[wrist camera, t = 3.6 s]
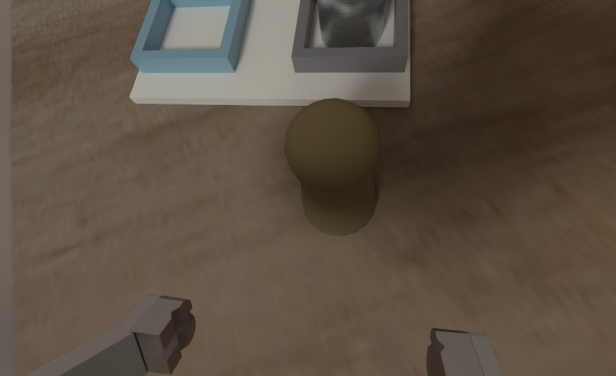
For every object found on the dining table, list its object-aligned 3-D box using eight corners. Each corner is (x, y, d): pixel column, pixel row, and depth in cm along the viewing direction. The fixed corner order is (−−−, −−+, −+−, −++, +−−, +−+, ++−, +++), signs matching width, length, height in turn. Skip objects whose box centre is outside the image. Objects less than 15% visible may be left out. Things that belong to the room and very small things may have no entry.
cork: (298, 172, 27) (266, 91, 17) (368, 160, 27) (378, 69, 17) (306, 241, 25) (275, 195, 15) (383, 229, 25) (405, 173, 14)
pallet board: (408, -21, 34) (413, -50, 31) (408, 107, 28) (414, 85, 25) (175, -9, 38) (160, -35, 35) (135, 103, 32) (115, 84, 30)
